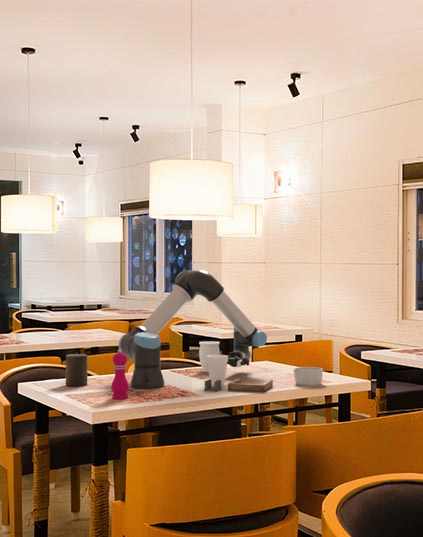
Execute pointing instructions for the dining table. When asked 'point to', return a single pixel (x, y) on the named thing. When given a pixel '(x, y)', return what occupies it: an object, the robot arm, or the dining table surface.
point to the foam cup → (217, 368)
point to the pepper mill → (120, 377)
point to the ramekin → (308, 376)
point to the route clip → (209, 388)
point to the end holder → (249, 386)
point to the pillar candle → (76, 370)
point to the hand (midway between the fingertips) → (223, 364)
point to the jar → (207, 352)
